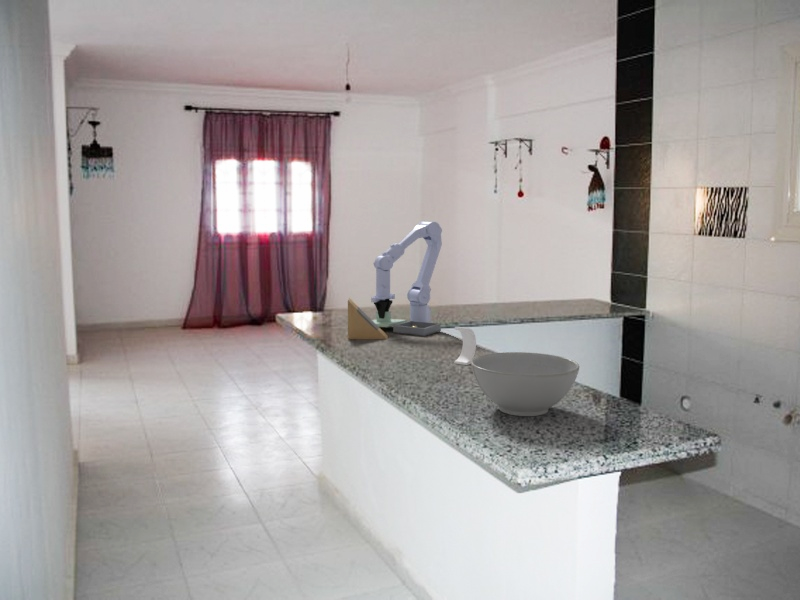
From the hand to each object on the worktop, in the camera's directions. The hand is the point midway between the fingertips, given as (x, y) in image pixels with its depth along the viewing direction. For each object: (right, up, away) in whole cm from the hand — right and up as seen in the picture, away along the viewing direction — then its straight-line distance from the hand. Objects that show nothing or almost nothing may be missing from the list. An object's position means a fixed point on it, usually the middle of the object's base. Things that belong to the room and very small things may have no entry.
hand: (383, 317), depth 308 cm
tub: (+14, -6, -7) cm, 17 cm away
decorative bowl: (+38, -21, -119) cm, 127 cm away
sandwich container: (-5, -7, -19) cm, 21 cm away
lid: (0, -2, 0) cm, 2 cm away
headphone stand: (+28, -13, -64) cm, 72 cm away
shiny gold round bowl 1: (+13, -4, -3) cm, 14 cm away
